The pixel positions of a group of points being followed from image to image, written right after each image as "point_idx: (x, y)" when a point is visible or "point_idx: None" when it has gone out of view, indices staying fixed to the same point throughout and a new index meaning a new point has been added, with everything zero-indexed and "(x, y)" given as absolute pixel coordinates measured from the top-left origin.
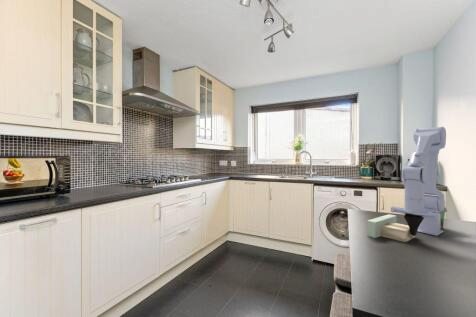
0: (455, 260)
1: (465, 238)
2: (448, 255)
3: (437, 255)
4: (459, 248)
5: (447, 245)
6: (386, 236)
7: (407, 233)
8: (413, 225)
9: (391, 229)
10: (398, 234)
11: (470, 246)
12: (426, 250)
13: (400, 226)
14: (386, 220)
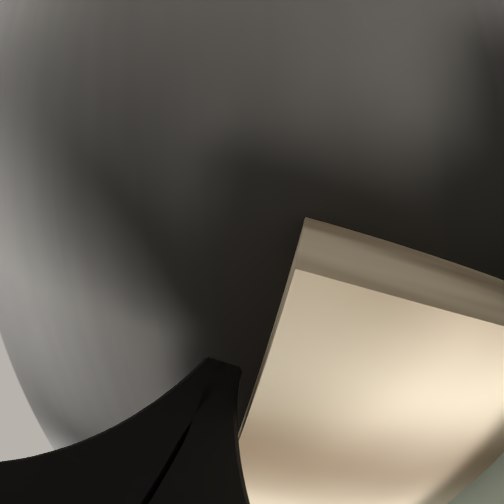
0: (9, 46)
1: None
2: (20, 108)
3: (63, 34)
4: (20, 327)
5: (58, 352)
6: (486, 277)
7: (273, 333)
8: (150, 449)
9: (494, 312)
10: (393, 263)
11: (22, 386)
12: (114, 83)
13: (352, 481)
14: (495, 501)
